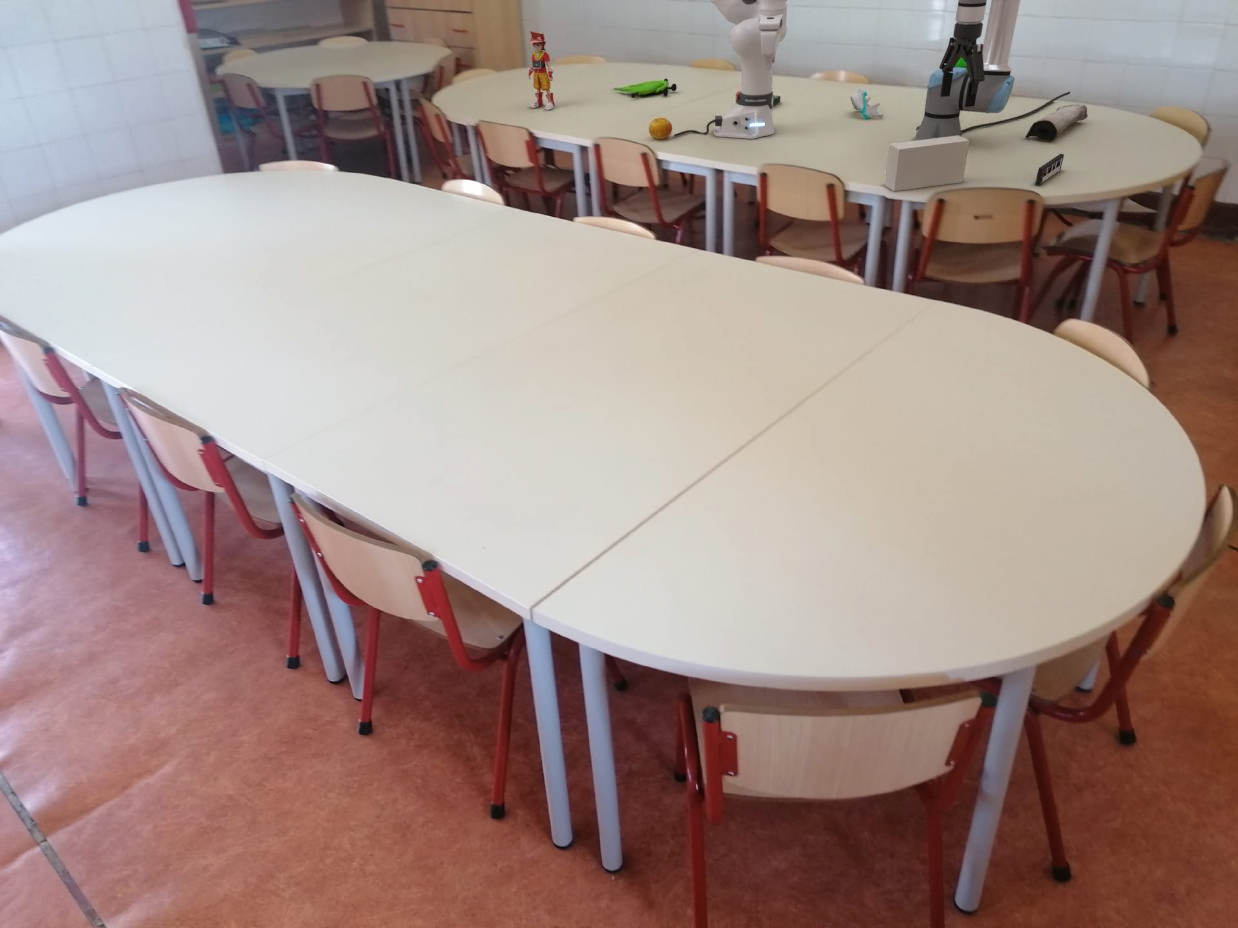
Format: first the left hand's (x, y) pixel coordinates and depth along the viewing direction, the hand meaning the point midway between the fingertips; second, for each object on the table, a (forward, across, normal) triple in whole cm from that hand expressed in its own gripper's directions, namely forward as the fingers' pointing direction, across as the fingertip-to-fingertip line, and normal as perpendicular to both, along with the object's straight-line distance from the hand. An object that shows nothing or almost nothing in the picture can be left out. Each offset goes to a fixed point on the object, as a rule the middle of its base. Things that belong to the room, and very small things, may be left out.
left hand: (770, 66), depth 289 cm
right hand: (+6, +19, +57) cm, 60 cm away
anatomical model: (+30, -60, +31) cm, 74 cm away
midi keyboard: (+30, +14, +88) cm, 93 cm away
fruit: (+30, -24, -42) cm, 56 cm away
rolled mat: (+30, -40, +97) cm, 109 cm away
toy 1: (+30, -69, -102) cm, 127 cm away
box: (+30, +22, +51) cm, 63 cm away
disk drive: (+30, -73, -10) cm, 79 cm away
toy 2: (+30, -97, -66) cm, 121 cm away
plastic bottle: (+30, -81, +65) cm, 108 cm away
